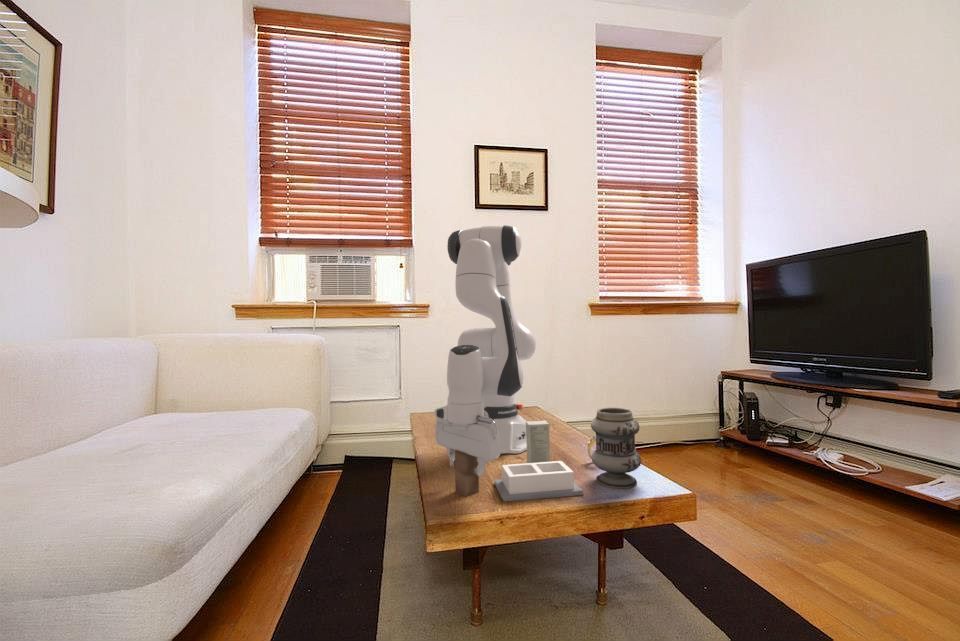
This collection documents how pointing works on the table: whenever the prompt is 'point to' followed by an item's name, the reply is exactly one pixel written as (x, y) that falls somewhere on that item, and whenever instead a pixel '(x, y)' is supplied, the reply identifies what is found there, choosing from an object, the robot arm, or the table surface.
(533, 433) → the skincare box
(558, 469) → the slot rack
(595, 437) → the ring
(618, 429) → the apothecary jar
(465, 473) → the walnut peg
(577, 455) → the table surface
